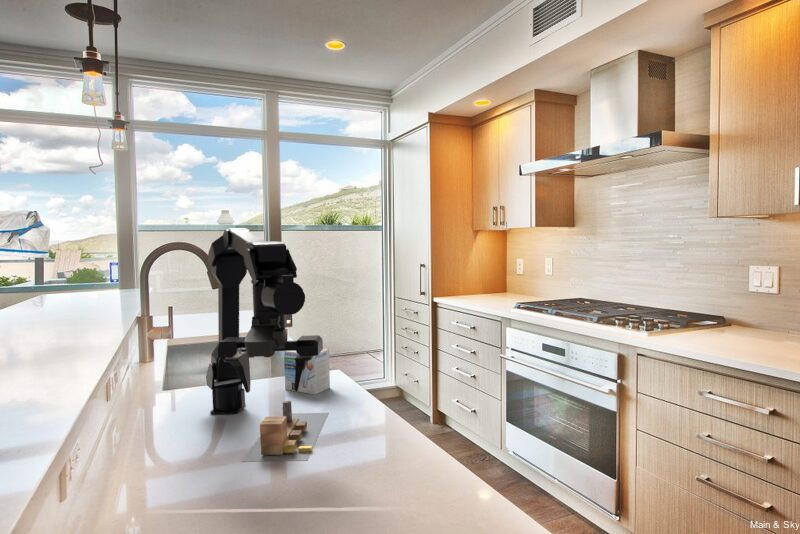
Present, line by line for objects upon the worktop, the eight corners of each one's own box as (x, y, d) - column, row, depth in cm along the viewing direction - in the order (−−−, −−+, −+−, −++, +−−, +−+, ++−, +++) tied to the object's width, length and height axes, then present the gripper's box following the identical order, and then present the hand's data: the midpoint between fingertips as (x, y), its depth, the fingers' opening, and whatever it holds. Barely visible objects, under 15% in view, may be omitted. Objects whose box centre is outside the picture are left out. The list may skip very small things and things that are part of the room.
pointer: (298, 452, 95) (298, 448, 95) (299, 450, 96) (299, 446, 96) (311, 452, 95) (310, 448, 95) (312, 450, 96) (311, 445, 96)
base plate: (241, 463, 92) (241, 461, 92) (277, 415, 117) (277, 413, 117) (307, 462, 92) (307, 460, 92) (328, 414, 117) (328, 412, 117)
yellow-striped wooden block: (260, 445, 94) (259, 424, 93) (266, 436, 98) (265, 416, 97) (282, 445, 94) (281, 423, 93) (287, 436, 98) (286, 416, 97)
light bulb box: (284, 390, 137) (282, 350, 136) (300, 383, 143) (298, 345, 142) (316, 394, 132) (314, 354, 131) (331, 387, 138) (329, 348, 137)
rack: (261, 454, 94) (260, 424, 93) (280, 426, 108) (279, 399, 107) (293, 454, 94) (292, 423, 93) (308, 426, 108) (307, 399, 107)
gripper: (202, 317, 86) (206, 406, 87) (310, 314, 86) (314, 404, 87) (225, 308, 97) (229, 387, 98) (321, 305, 97) (324, 385, 98)
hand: (272, 391), depth 95 cm, fingers open, 9 cm apart
